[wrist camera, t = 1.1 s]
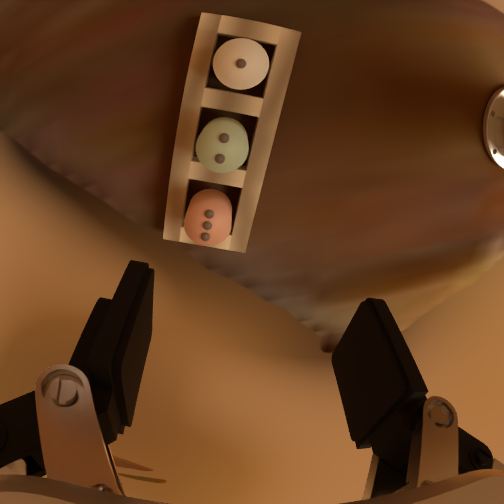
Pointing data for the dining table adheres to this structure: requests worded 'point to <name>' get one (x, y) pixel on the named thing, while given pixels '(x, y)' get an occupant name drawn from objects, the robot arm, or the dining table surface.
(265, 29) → the wooden panel frame
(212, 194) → the button three
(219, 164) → the button two
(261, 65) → the button one
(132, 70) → the dining table surface
